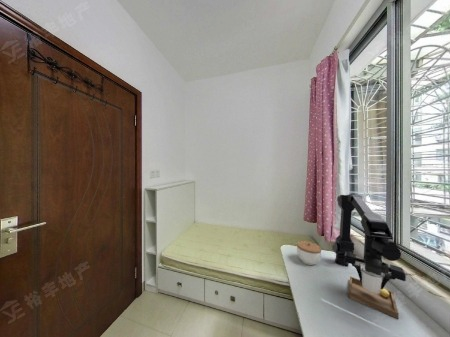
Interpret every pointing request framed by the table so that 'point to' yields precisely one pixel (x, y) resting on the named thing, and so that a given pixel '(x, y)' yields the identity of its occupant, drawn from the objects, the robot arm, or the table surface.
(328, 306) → the table surface
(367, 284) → the white cup
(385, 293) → the ball
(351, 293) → the tray
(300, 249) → the lidded bowl
